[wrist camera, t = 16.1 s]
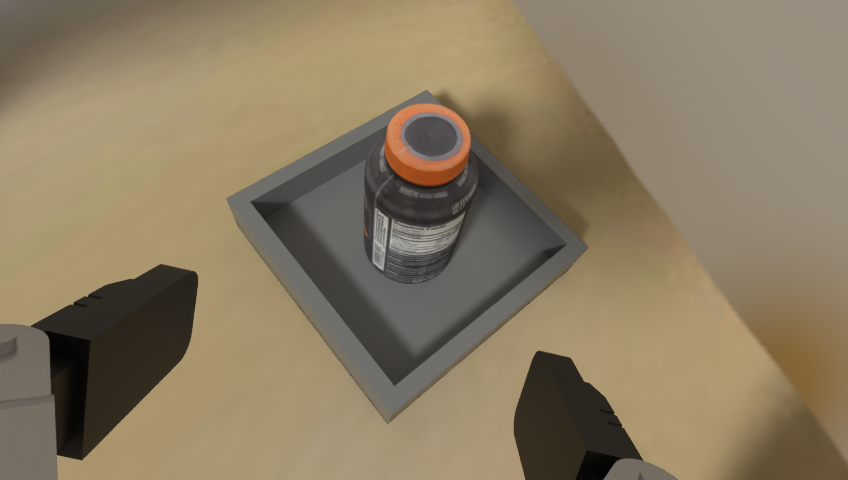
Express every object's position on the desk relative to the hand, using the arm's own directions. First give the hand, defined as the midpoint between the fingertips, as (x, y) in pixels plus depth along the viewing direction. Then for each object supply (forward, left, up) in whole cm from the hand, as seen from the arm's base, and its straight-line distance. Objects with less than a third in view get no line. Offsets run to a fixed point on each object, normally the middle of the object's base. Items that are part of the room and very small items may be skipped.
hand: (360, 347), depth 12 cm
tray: (-8, +10, -19) cm, 22 cm away
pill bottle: (-7, +10, -18) cm, 21 cm away
